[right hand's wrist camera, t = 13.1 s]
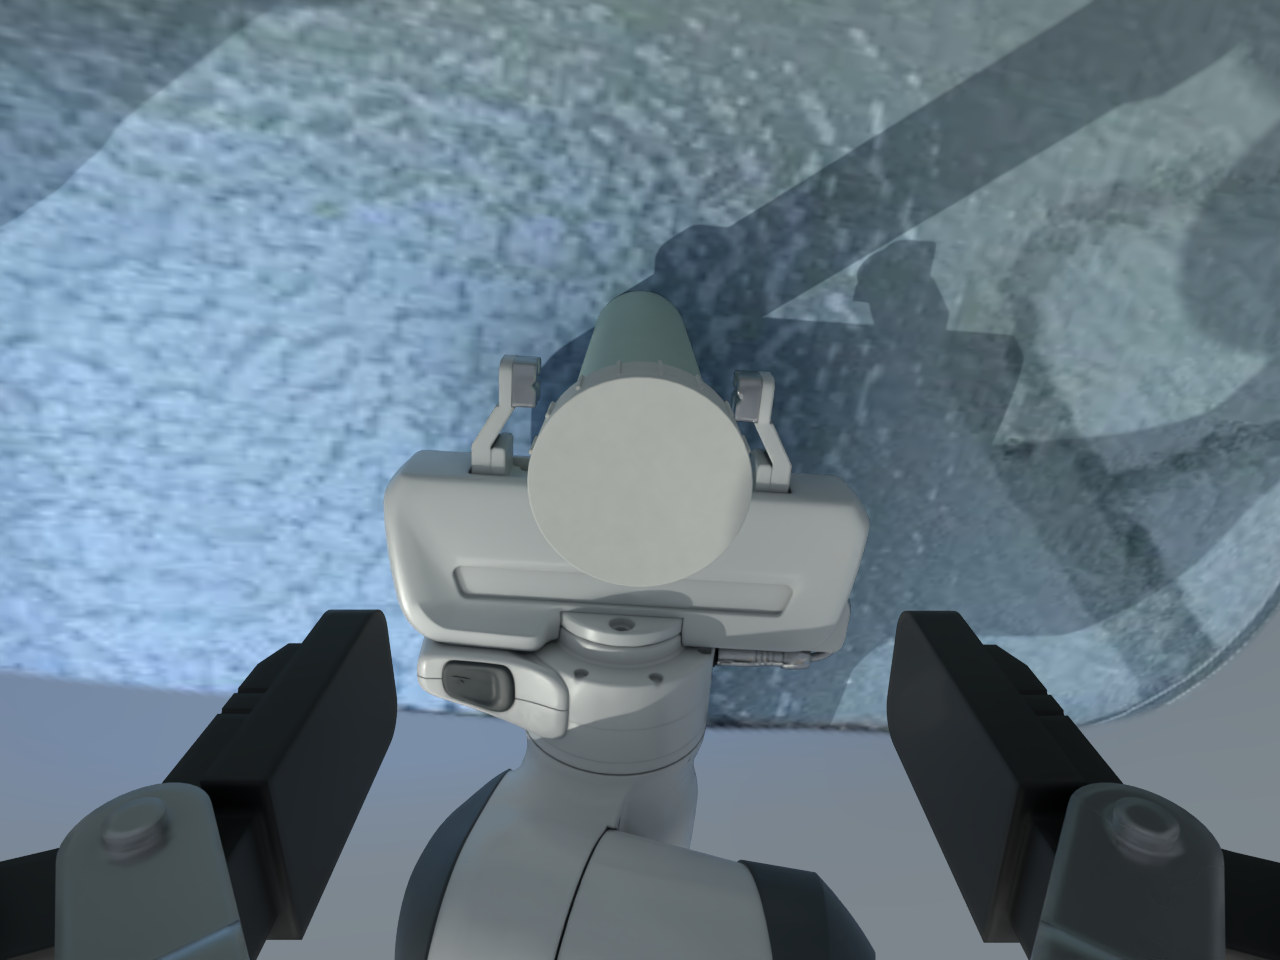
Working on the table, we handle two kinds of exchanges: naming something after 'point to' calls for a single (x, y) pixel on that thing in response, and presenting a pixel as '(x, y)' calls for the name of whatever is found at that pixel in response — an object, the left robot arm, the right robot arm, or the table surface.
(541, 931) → the left robot arm
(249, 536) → the table surface
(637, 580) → the lid
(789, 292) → the table surface
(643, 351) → the pale green tall cylinder
